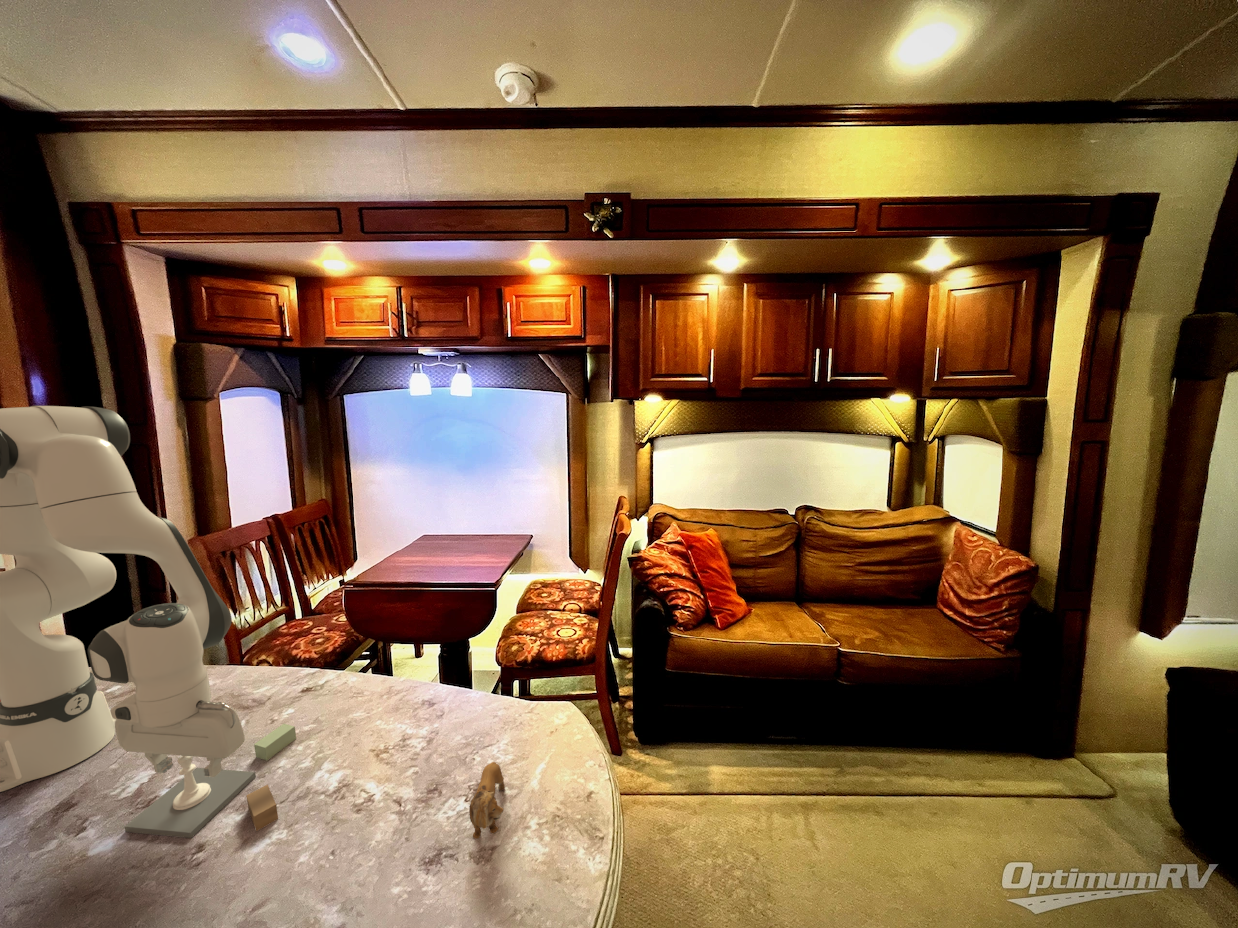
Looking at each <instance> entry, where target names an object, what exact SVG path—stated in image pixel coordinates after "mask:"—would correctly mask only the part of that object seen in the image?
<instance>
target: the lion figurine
mask: <svg viewBox="0 0 1238 928" xmlns="http://www.w3.org/2000/svg"><path fill="white" fill-rule="evenodd" d="M480 778H481V779H480V781H479V784H478V787H477V790H476V792H475V793H474V795H473V797H472V798H471V801H470V803H469V812H468V813H469V814H468V815H469V820H470V822H471V825H472V826H473V828H474V832H473V833H472V837H473V839H475V840H477V839H479V838H481V834H482V829H487V828H488V829H489V833H490V834H496V833H497V831H498V830H499V828H498V826H497V824H496V821H499V820H500V817H501V815H502V813H503V812H504V808H503V807H501V806H499V804H498V801H497V800H496V799H497V798H496V797H495V795H496V784H497V785H498V786H497V789H498V791H500V792H502V791H503V789H504V790H505V782H504V776H503V773H502V770H501V766H500V765H499V764H497V763H496V762H495V761H492V762H491V763H488V764H487V765H486V766H484V768H483V769H482V772H481V777H480ZM481 828H482V829H481Z"/></svg>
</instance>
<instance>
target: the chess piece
mask: <svg viewBox="0 0 1238 928" xmlns="http://www.w3.org/2000/svg"><path fill="white" fill-rule="evenodd" d="M193 757H194V756H180V755H179V757H178V758H177V763H178V764H179V766H180V767H181V769H179V771H178V774H179V776H183V778H184V790H183V791H182V792H180V793H179V794H178V795H177V796H176V797H175V799H174V801H173V808H174V809H176V810H184V809H188V808H191V807H193V806H195V805H197V804H198V803H200V802H201V801H203V800H204V799H205V798H206V797H207V796H208V795H209V794H210V792H211V788H210V785H209V784H207V783H199V784H196V781H195V779H194V776H193V773H192V771H193V770H194V769H196V768H197V766H196V764H194V763H192V760H193Z"/></svg>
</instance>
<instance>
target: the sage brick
mask: <svg viewBox="0 0 1238 928" xmlns="http://www.w3.org/2000/svg"><path fill="white" fill-rule="evenodd" d="M296 739H297V733H296V726H295V725H292V724H287V723H283V724H281V725H280V726H278V727H277V728H275V729H273V730H272V731H270V732H269V733H268V734H267V735H265V736H264V737H262V738H261V739H259V740H258V741H257V742H255V743H254V744H253V748H254V751H255V752H254V754H255V757H256V758H257V759H261V760H264V761H269V760H270V759H271V758H273V757H274V756H275V755H277V753H278V754H279V752H280V751H282V750H283V749H285V748H286V747H287V746H289V745H290V744H291V743H293V742H294V741H295V740H296Z"/></svg>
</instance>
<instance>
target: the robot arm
mask: <svg viewBox="0 0 1238 928" xmlns="http://www.w3.org/2000/svg"><path fill="white" fill-rule="evenodd" d="M130 444H131V433H130V429H129V427H128V424H127V422H126V421H125V420H124V419H123V417H121V416H120V415H119V414H118V413H117V412H116V411H114V410H112V409H108V408H104V407H97V406H89V405H85V406H81V407H77V406H76V407H75V406H61V405H60V406H59V405H32V406H31V405H30V406H25V407H24V406H22V407H21V406H20V407H18V406H17V407H6V408H5V407H3V408H0V555H4V556H6V555H8V556H14V558H15V559H14V560H15V562H16V564H15V567H14V568H12V569H11V568H10V569H9V570H5V571H2V572H0V793H1V792H2V793H3V792H5V791H7V790H11V789H12V788H15V787H17V786H19V785H22V784H25V783H28V782H30V781H33V780H37V779H40V778H45V777H48V776H52V775H54V774H56V773H58V772H62V771H63V770H66V769H68V768H71V767H73V766H74V765H77V764H79V763H81V762H82V761H84V760H86V759H88V758H89V757H92V756H94V755H95V754H96V753H98V752H99V751H100V750H102V749H103V748H104V747H106V746H107V745H108V744H109V743H110V742H112V740H113V738H115V737H114V736H115V734H116V737H117V741H118V745H119V746H120V747H121V748H122V749H123V750H124V751H125V752H129V753H130V752H131V753H140V754H141V753H144V757H145V758H146V759H147V760H148V761H149V762H150V763H151V764H152V765H153V768H154V772H155V773H156V774H157V773H159V774H165V773H167V772H168V771H169V770H171V768H173V766H174V762H173V757H170V756H179V757H180V756H193V757H195V758H206V761H207V762H209V764H208V765H206V766H205V767H203V768H204V773H205V774H204V775H205V776H206V777H215V776H216V775H217V774H218V773H219V772H220V771H221V770H222V768H223V767H222V761H223V759H224V760H225V759H227V758H229V757H230V756H231V755H232V754H234V752H236V751H237V750H238V749H240V747H241V746H243V744H244V742H245V740H246V738H245V733H244V728H243V725H242V722H241V719H240V717H239V714H238V712H237V711H236V710H235V708H233V707H231V706H228V705H227V703H226V702H224V701H223V702H222V701H218V702H217V701H216V702H214V701H211V700H212V698H213V697H212V691H211V685H210V679H209V674H208V673H209V672H208V670H207V668H206V666H205V664H204V662H203V656H204V652H205V651H204V650H206V649H209V648H211V647H214V646H217V645H219V644H220V643H221V642H222V640H223V639H224V638H225V636H226V635H227V633H228V632H229V630H230V628H231V626H232V621H233V619H232V618H233V617H232V615H231V612H230V610H229V608H228V606H227V605H226V603H225V602H224V600H223V599H222V598H221V596H219V594H218V593H217V592H216V591H215V589H214V588H213V586H212V585H211V583H210V581H209V579H208V578H207V576H206V574H205V572H204V570H203V569H202V567H201V566H200V563H199V562H198V560H197V558H196V556H195V555H194V552H193V551H192V550H191V548H190V546H189V544H188V543H187V541H186V539H185V538H184V537H183V535H182V534H181V532H180V530H179V528H177V527H176V525H175V524H174V523H173V522H172V521H171V520H169V519H168V518H165V517H159V516H156V514H154V513H153V512H151V511H150V510H149V508H147V507H146V506H145V504H144V503H143V502H142V500H141V499H140V495H139V494H138V492H137V489H136V484H135V482H134V480H133V478H132V475H131V473H130V471H129V469H128V466H127V465H126V463H125V461H124V459H123V457H122V456H123V455H124V454H125V452H127V450H129V447H130ZM100 553H101V554H100ZM103 554H129V555H130V554H131V555H132V554H133V555H138V556H145V557H147V558H150V559H152V560H153V561H155V563H157V564H158V565H159V567H160V568H161V570H162V572H163V573H164V575H165V577H166V578H167V580H168V582H169V583H170V585H171V587H172V589H173V590H174V592H175V593H176V595H177V597H178V600H177V602H167V603H161V604H154V605H151V606H148V607H145V608H141V609H140V610H138V611H137V612H135V613H133V614H131V616H129V617H128V618H127V619H126V620H124V621H120V622H119V623H115V624H113V625H110V626H108V627H106V628H104V629H102V630H100V631H98V633H97V634H96V635H95V637H94V638H93V639H92V641H91V642H90V644H89V645H88V648H87V654H86V650H85V645H84V643H83V641H81V640H80V639H78V638H77V637H75V636H73V635H67V634H44V633H43V632H42V631H41V629H40V622H41V623H42V622H43V621H46V620H48V619H50V618H51V619H52V618H54V617H56V616H59V615H61V614H64V613H67V612H69V611H72V610H75V609H77V608H81V607H83V606H85V605H87V604H90V603H91V602H93V601H95V600H97V599H99V598H101V597H102V596H104V595H106V594H107V593H109V592H110V591H111V590H112V589H113V588H114V586H115V584H116V582H117V581H116V580H117V570H116V567H115V565H114V563H113V562H112V561H111V560H110V559H109V558H108V557H106V556H105V555H103ZM87 655H88V659H87ZM88 660H89V663H88ZM89 664H90V665H89ZM89 666H90V667H89ZM90 668H91V671H92V672H91V671H90ZM96 679H97V680H99V681H103V682H108V683H116V684H128V683H133V684H134V685H135V693H134V694H131V695H130V696H128V697H127V698H125V699H124V700H121V701H120V702H118V703H117V704H116V705H114V706H113V707H111V708H109V704H108V702H107V698H106V697H105V694H104V693H103V692H104V691H101V690H98V688H97V680H96ZM169 755H170V756H169Z"/></svg>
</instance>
